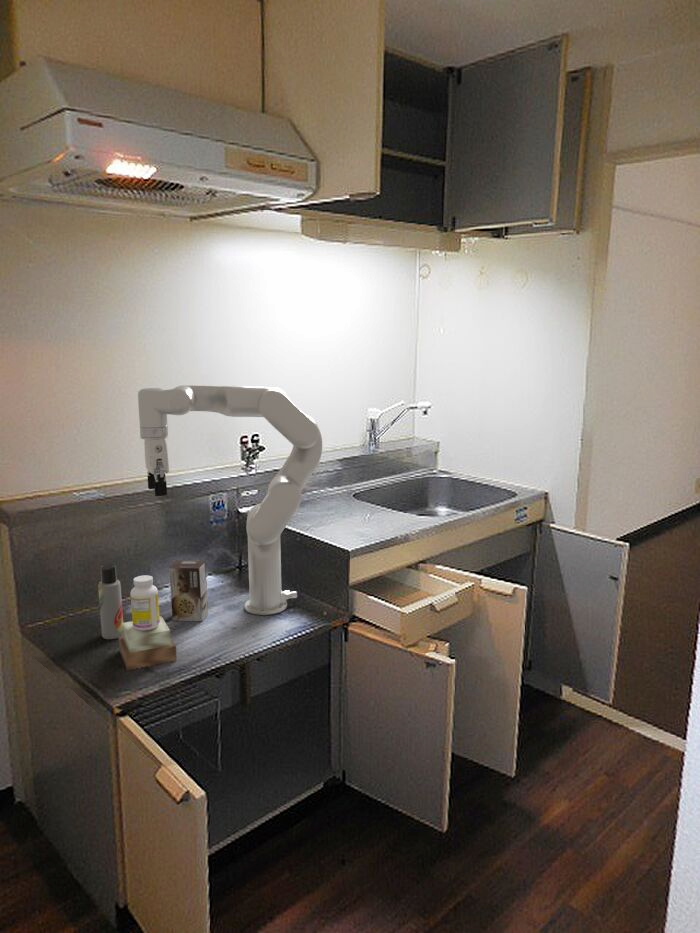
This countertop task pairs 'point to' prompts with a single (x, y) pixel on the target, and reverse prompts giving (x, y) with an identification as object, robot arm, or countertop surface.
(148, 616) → the supplement bottle
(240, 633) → the countertop surface
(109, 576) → the lotion bottle
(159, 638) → the cream slab tan edge
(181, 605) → the coffee box
